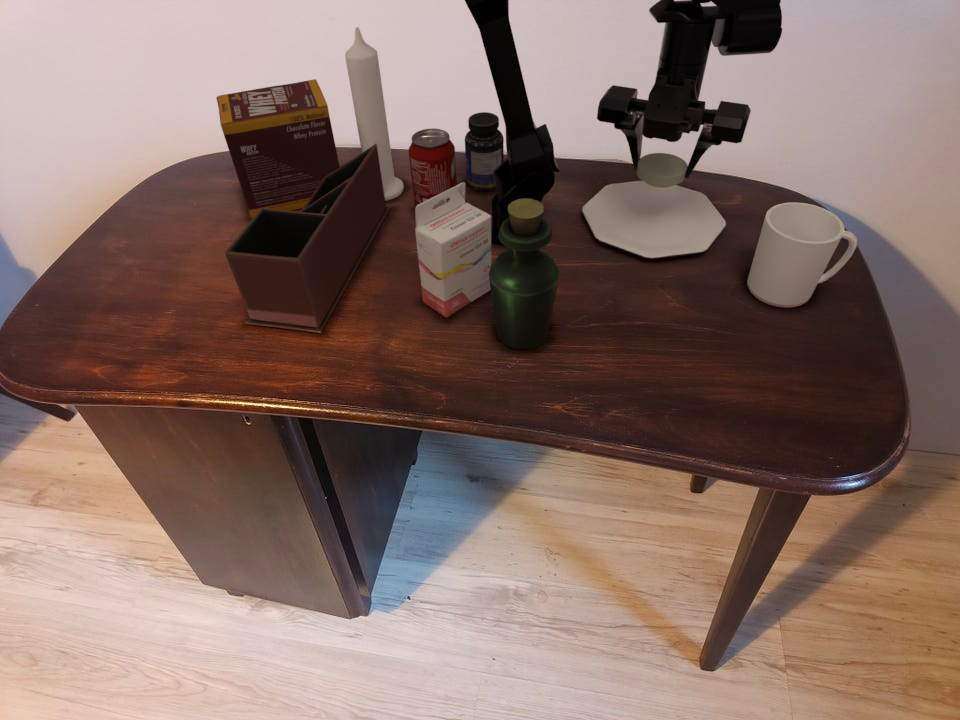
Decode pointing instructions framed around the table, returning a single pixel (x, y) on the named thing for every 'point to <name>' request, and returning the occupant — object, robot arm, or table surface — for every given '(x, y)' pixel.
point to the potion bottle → (523, 277)
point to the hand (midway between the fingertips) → (660, 172)
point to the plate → (653, 219)
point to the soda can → (432, 165)
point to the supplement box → (279, 143)
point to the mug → (796, 253)
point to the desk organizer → (309, 248)
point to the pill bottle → (483, 150)
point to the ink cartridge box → (452, 251)
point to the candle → (371, 109)
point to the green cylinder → (661, 169)
